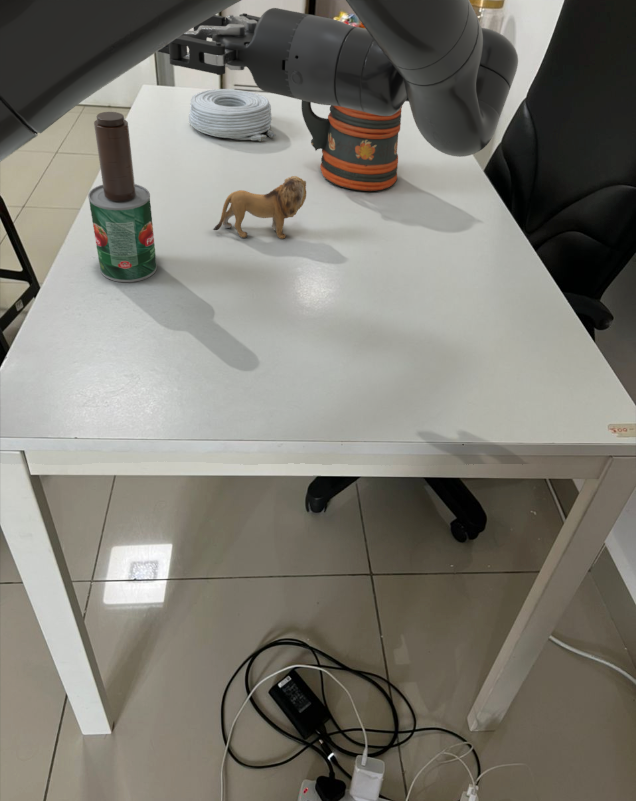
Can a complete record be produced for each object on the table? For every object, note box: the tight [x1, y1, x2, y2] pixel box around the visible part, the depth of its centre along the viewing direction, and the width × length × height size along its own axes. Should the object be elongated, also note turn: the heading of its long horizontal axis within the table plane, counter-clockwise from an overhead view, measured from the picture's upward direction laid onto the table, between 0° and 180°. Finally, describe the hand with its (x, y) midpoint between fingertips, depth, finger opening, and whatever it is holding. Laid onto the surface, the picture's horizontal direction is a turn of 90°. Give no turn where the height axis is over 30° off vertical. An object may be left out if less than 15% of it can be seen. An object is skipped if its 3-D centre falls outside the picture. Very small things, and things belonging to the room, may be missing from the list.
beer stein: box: [301, 100, 403, 192], centre depth 117 cm, size 19×15×20 cm
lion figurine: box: [212, 175, 307, 240], centre depth 100 cm, size 15×5×9 cm, turn 103°
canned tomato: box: [87, 183, 158, 283], centre depth 88 cm, size 8×8×11 cm
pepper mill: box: [93, 111, 136, 201], centre depth 82 cm, size 4×4×10 cm
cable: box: [187, 88, 276, 142], centre depth 136 cm, size 18×18×6 cm
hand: (171, 29), depth 68 cm, fingers open, 8 cm apart
